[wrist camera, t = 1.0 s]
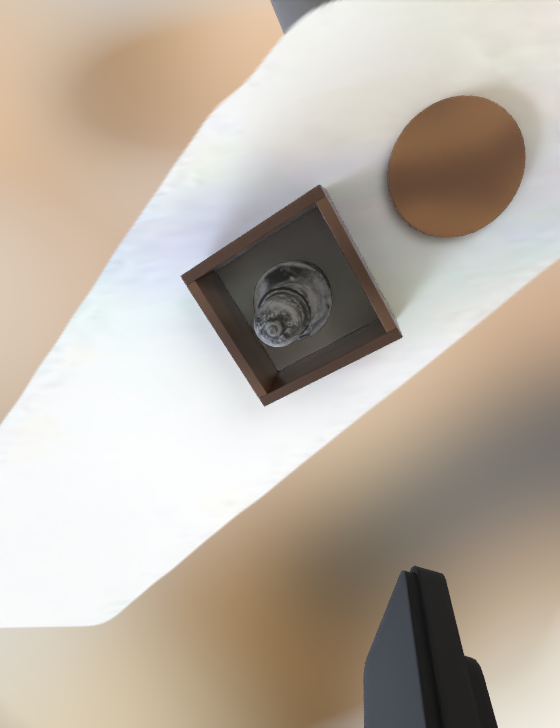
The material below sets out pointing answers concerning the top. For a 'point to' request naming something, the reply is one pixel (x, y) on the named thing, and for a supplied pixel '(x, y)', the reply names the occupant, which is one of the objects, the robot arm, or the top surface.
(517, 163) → the coaster
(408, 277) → the top surface
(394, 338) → the crate
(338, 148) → the top surface
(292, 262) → the stone chess piece
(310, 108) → the top surface
